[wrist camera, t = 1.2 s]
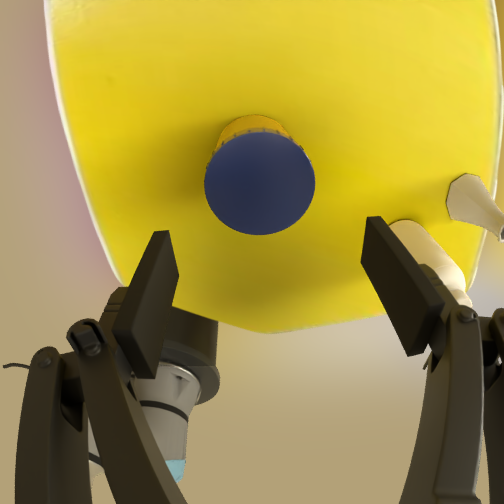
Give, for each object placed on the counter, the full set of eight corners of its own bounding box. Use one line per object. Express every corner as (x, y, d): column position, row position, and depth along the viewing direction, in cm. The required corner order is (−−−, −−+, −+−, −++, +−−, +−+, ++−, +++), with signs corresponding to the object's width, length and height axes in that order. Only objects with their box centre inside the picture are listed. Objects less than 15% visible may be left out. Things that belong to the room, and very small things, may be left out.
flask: (482, 168, 32) (528, 198, 24) (480, 213, 36) (520, 248, 28) (444, 177, 33) (491, 211, 25) (444, 224, 37) (483, 264, 29)
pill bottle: (406, 206, 35) (472, 275, 23) (431, 242, 38) (488, 311, 26) (362, 246, 38) (409, 328, 26) (391, 277, 41) (435, 355, 29)
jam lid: (212, 228, 26) (210, 239, 24) (200, 131, 22) (197, 136, 20) (309, 221, 26) (314, 232, 24) (310, 125, 22) (316, 129, 20)
